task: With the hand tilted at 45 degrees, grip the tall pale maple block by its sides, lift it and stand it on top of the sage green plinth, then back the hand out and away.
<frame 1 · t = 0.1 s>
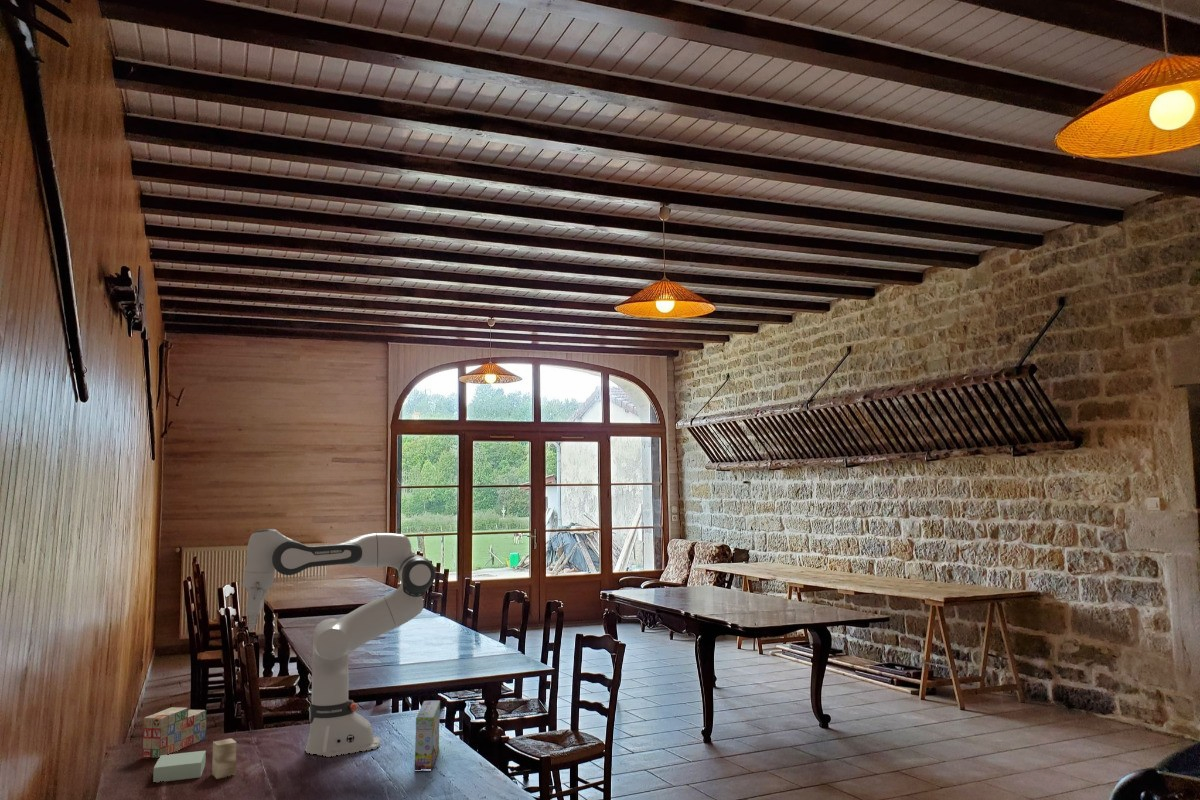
hand: (252, 626, 257), 39 cm above the table, tool pointing down, fingers open, 8 cm apart
stack of blocks: (175, 749, 264), on the table
snack box: (427, 761, 248), on the table
plinth: (180, 773, 240), on the table
maple block: (223, 774, 238), on the table
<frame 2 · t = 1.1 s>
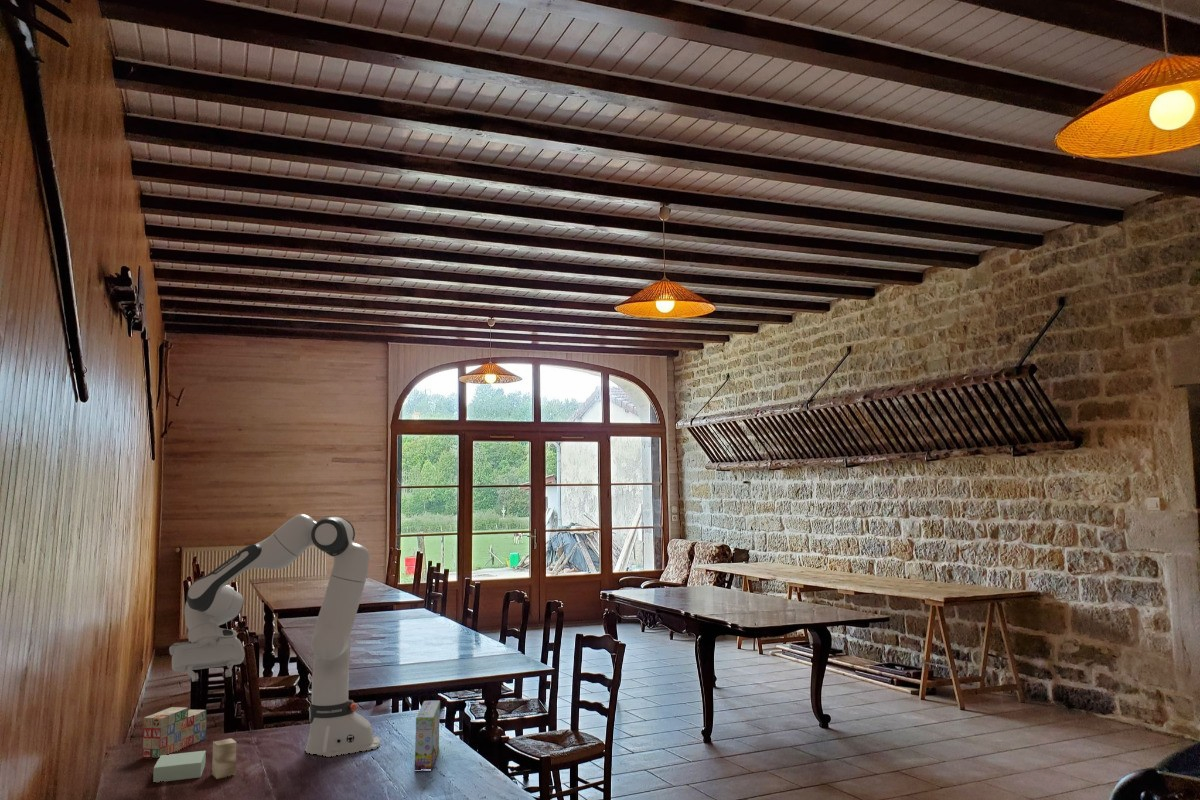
hand: (212, 677, 250), 25 cm above the table, tool tilted 45°, fingers open, 8 cm apart
nothing on the table moved.
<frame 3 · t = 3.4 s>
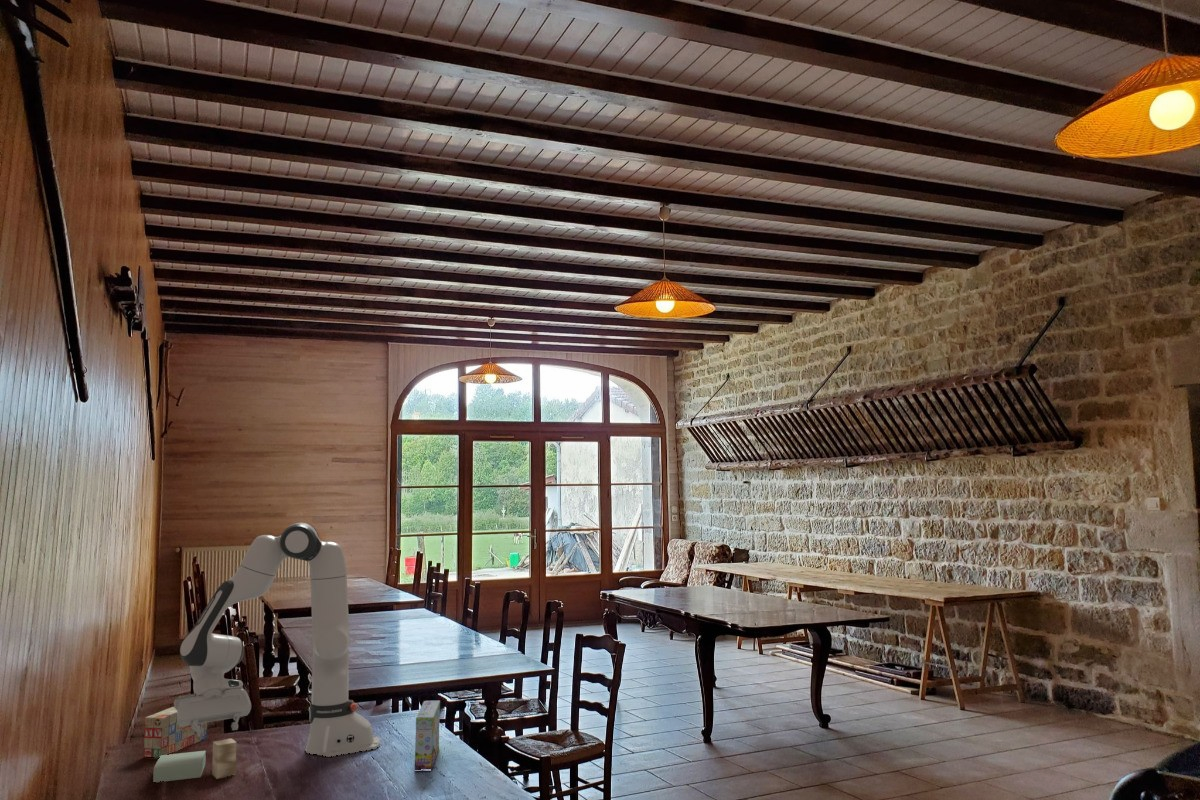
hand: (218, 732, 244), 10 cm above the table, tool tilted 45°, fingers open, 8 cm apart
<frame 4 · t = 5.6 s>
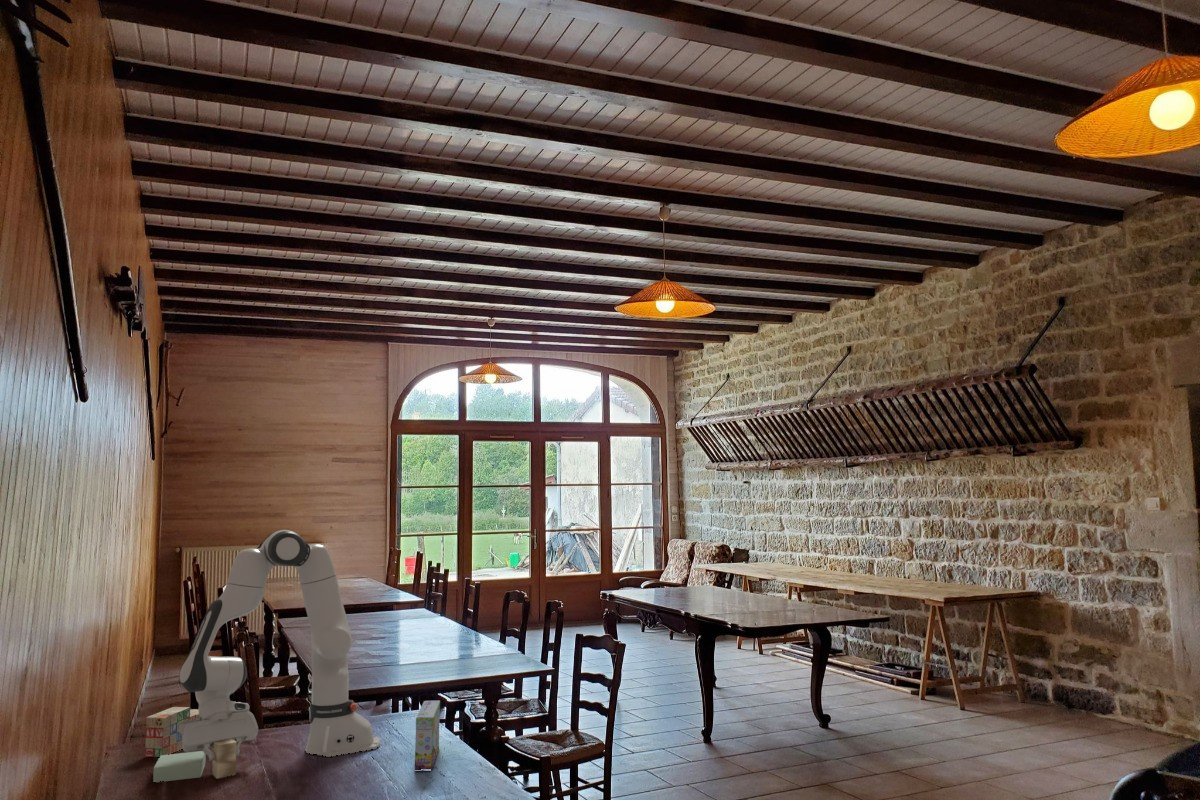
hand: (224, 757, 238), 5 cm above the table, tool tilted 45°, fingers closed on maple block, 5 cm apart
maple block: (223, 774, 238), on the table, touching gripper
everything else where it was.
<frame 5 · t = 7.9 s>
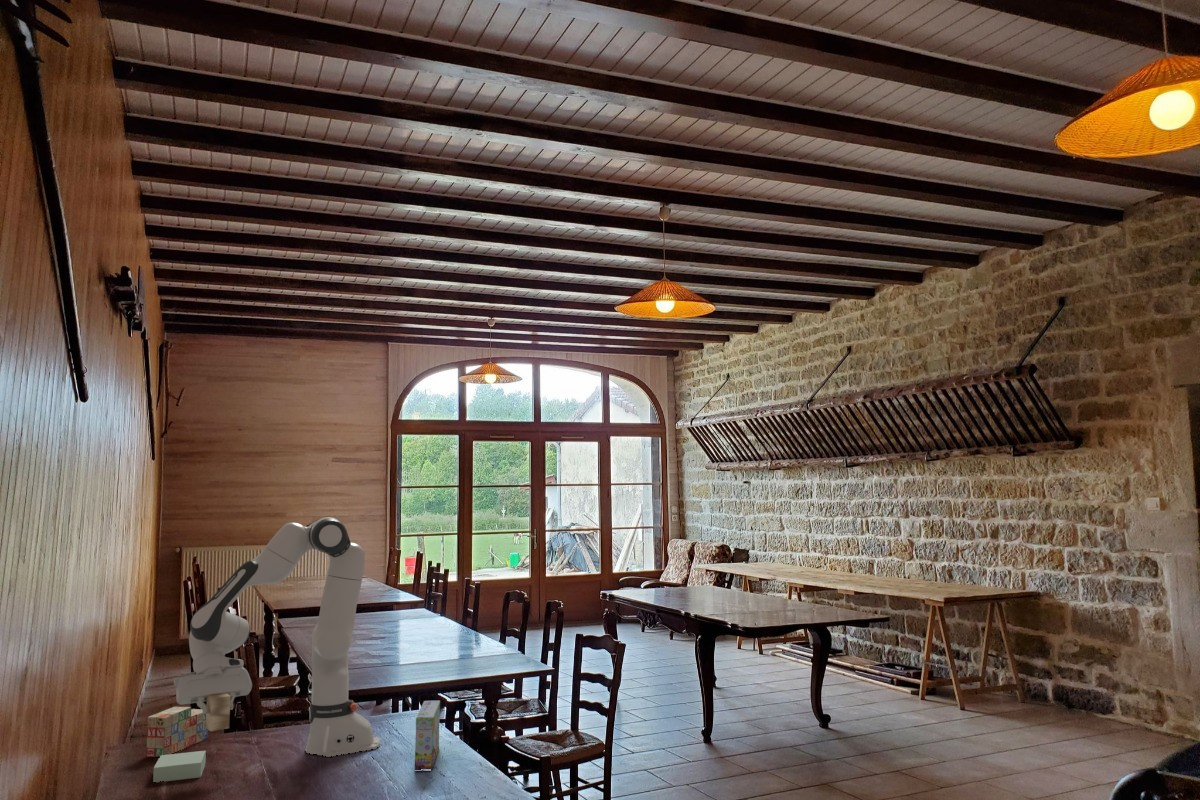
hand: (218, 710, 240), 18 cm above the table, tool tilted 45°, fingers closed on maple block, 5 cm apart
maple block: (217, 727, 239), point 13 cm above the table, touching gripper
when the fingers open (10 cm above the table, at t = 10.3 s): maple block drops 1 cm, resting on plinth.
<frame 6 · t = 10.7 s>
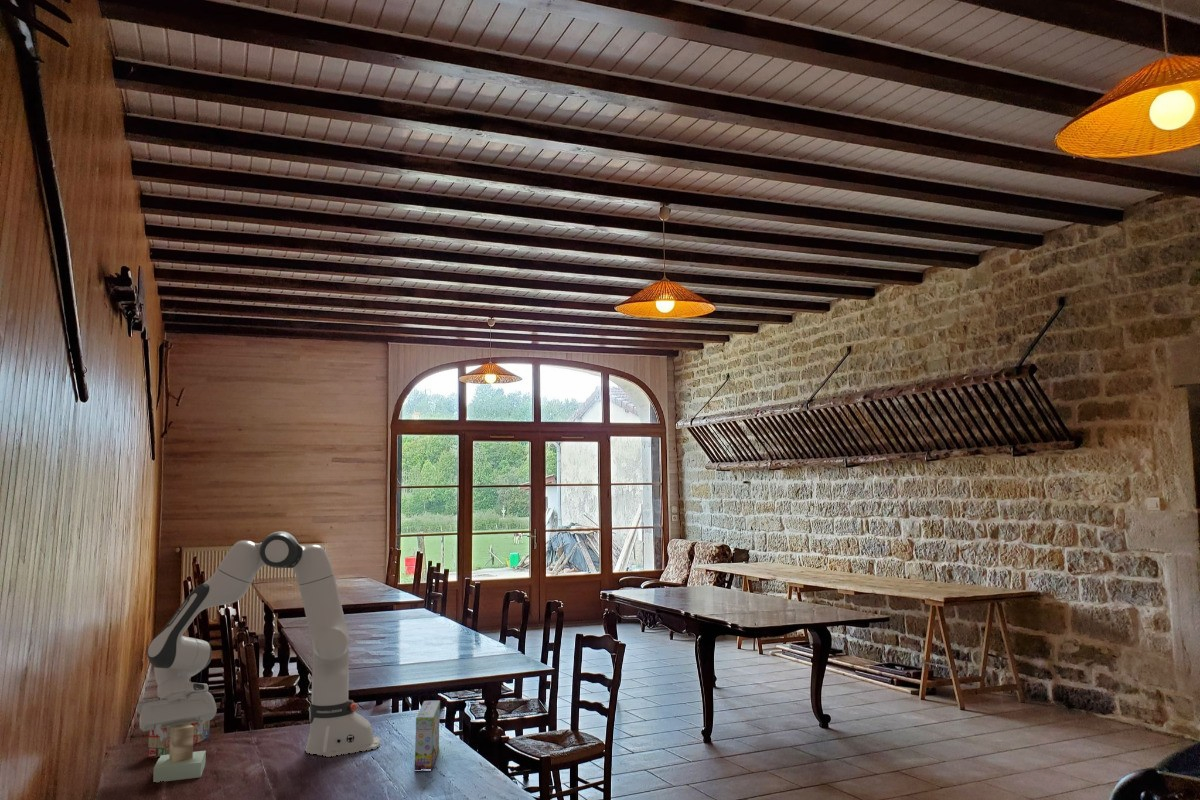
hand: (182, 736, 240), 10 cm above the table, tool tilted 45°, fingers open, 8 cm apart
maple block: (180, 758, 240), point 4 cm above the table, touching plinth
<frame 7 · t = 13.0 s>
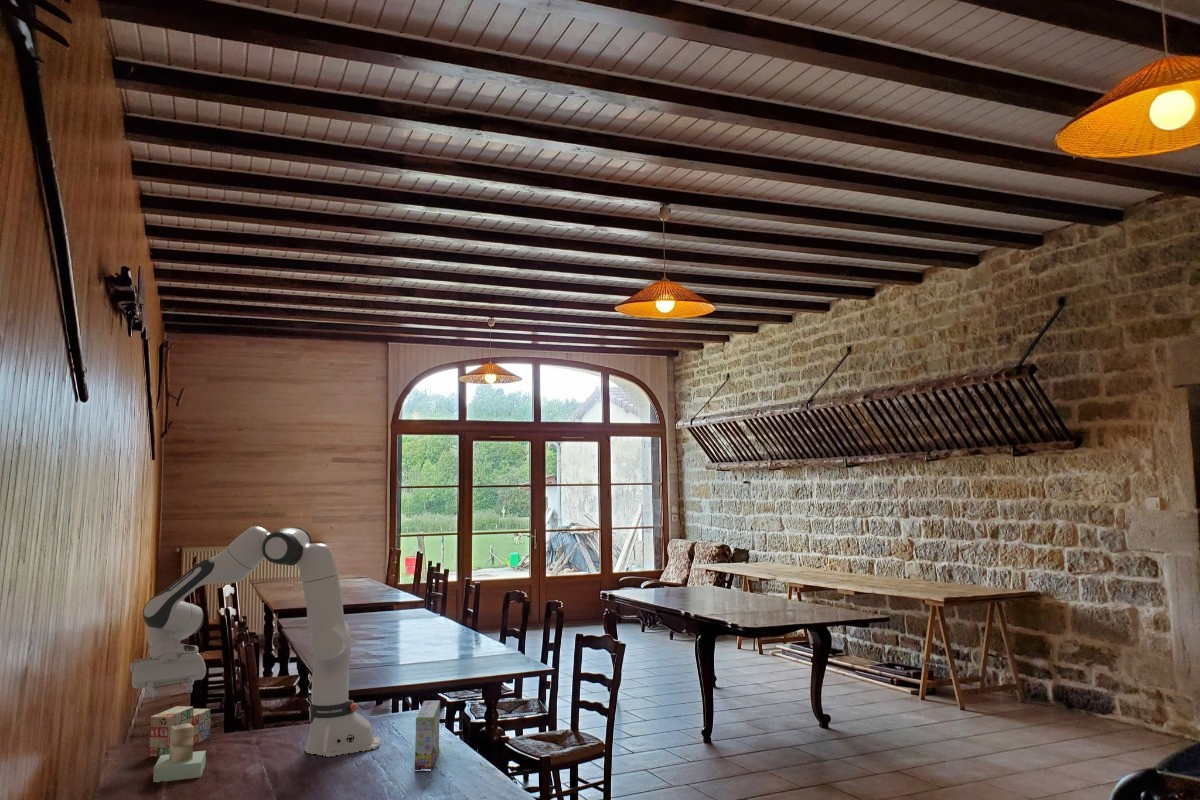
hand: (172, 694, 251), 20 cm above the table, tool tilted 45°, fingers open, 8 cm apart
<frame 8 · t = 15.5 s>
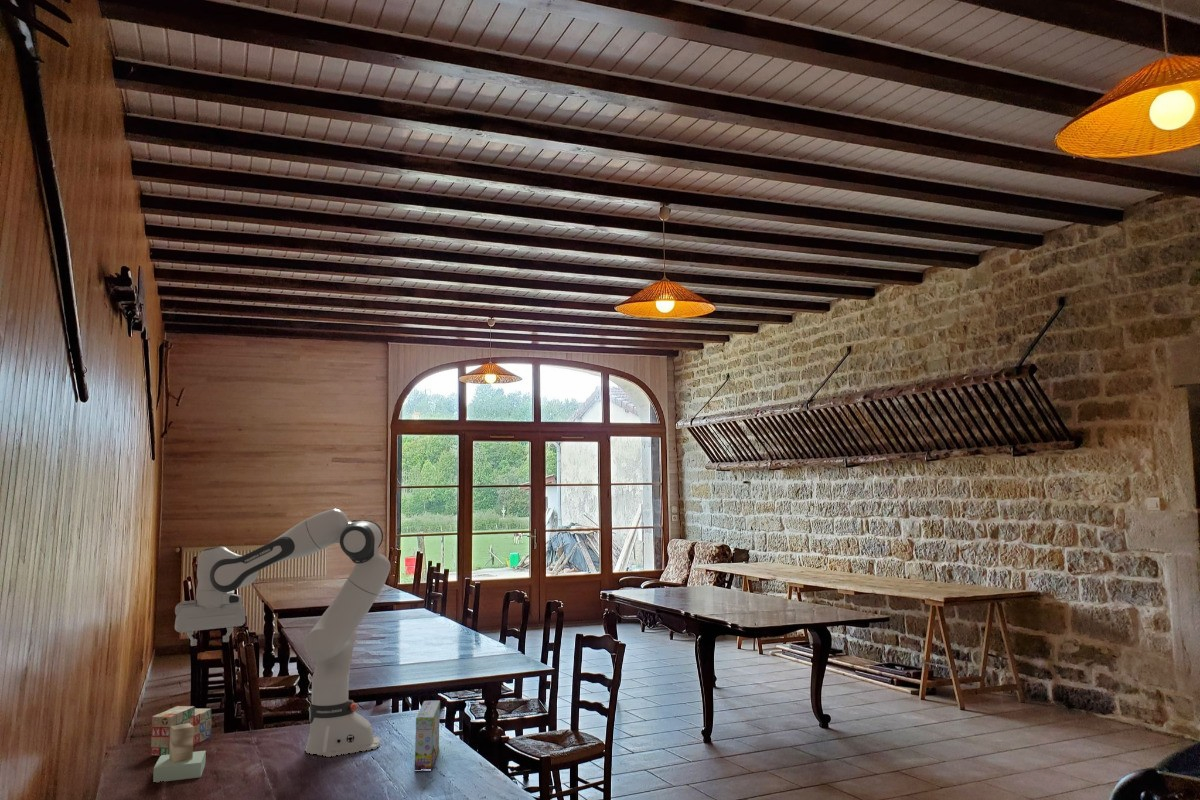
hand: (209, 643, 262), 33 cm above the table, tool pointing down, fingers open, 8 cm apart
at the end: maple block inside the target area on the plinth (0.1 cm from its centre), point 4.0 cm above the plinth's base; maple block tilted 0°; the gripper is holding nothing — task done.
